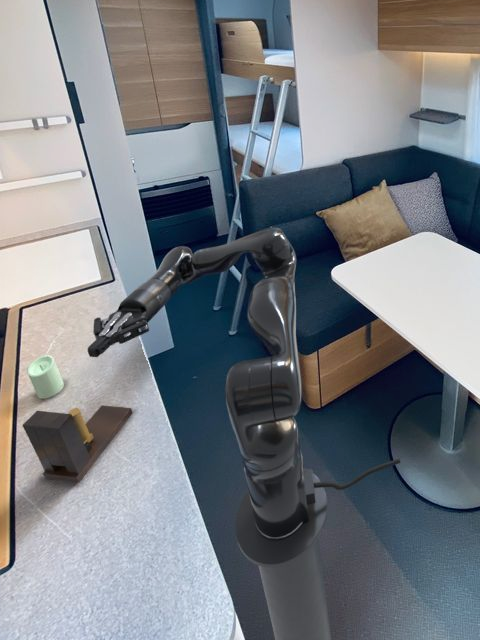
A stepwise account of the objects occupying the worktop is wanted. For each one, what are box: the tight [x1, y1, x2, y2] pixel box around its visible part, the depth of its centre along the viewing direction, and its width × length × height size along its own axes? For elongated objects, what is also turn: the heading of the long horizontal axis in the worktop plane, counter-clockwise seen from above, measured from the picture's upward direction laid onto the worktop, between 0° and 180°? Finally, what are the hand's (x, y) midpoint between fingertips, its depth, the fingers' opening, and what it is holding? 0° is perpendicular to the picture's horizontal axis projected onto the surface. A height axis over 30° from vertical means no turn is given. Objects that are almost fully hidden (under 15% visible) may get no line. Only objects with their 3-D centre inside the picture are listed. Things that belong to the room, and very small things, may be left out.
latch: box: [22, 404, 133, 484], centre depth 80 cm, size 15×7×14 cm, turn 173°
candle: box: [26, 354, 65, 400], centre depth 94 cm, size 5×5×8 cm
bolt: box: [67, 407, 94, 444], centre depth 78 cm, size 6×2×8 cm, turn 173°
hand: (91, 353), depth 82 cm, fingers closed
